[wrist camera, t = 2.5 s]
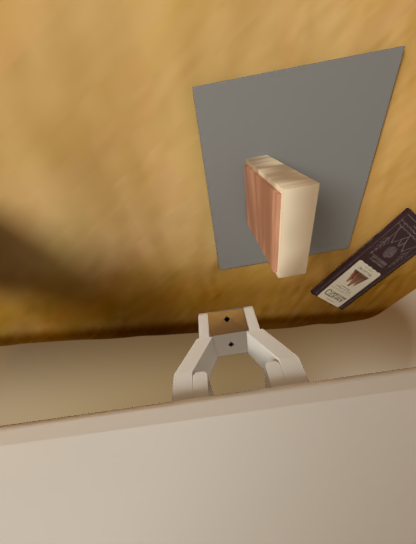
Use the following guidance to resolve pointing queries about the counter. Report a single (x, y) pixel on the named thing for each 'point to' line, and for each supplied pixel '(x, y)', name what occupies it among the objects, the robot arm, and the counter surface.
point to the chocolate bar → (371, 262)
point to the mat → (295, 142)
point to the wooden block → (280, 213)
